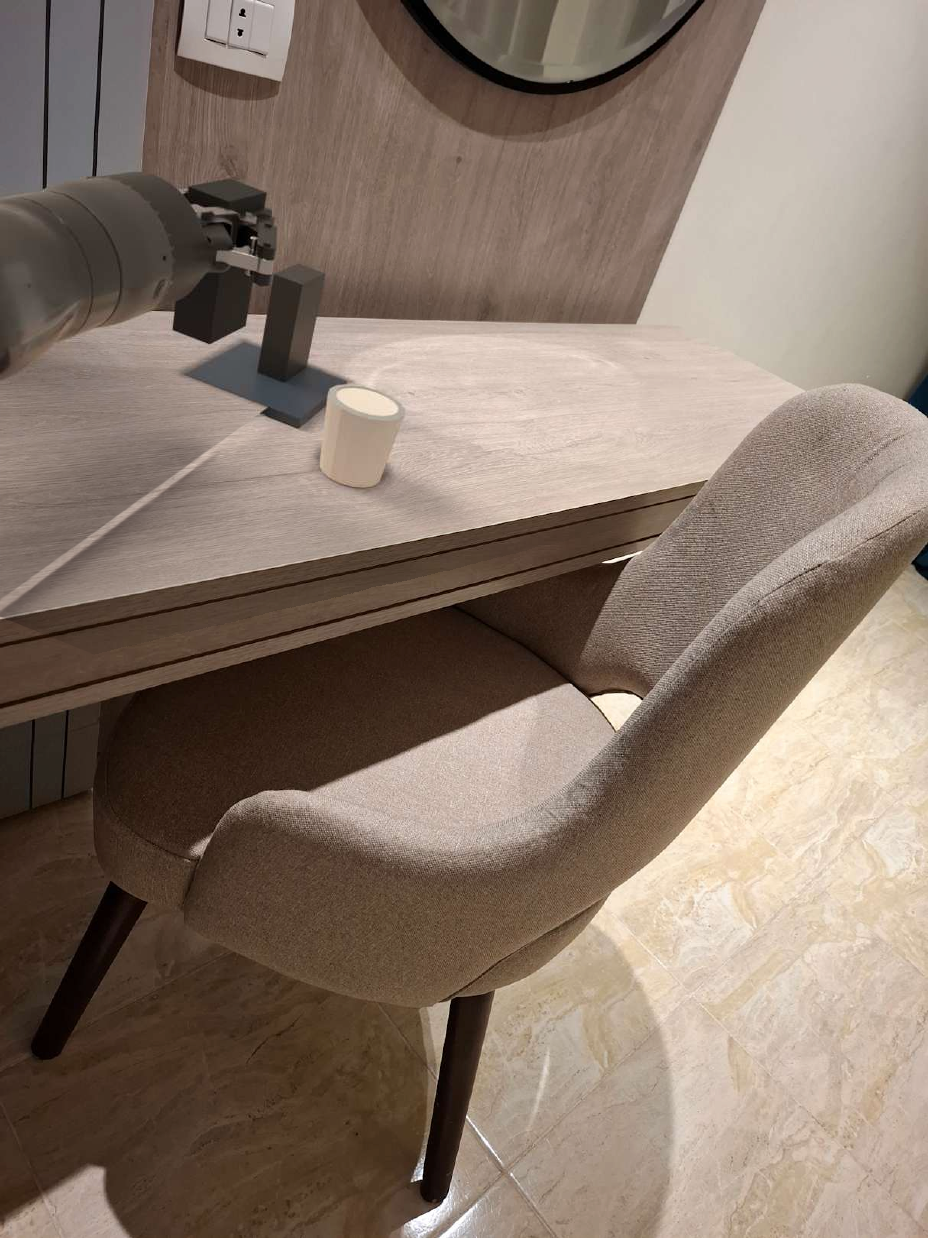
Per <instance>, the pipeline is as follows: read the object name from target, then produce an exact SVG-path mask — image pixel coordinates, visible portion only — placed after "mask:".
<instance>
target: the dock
mask: <svg viewBox="0 0 928 1238" xmlns="http://www.w3.org/2000/svg"><path fill="white" fill-rule="evenodd" d="M325 277H326V273H325V272H323V271H320V270H317V269H315V268H312V267H310V266H306V265H304V264H302V263H299V262H298V263H296V264H293V265H291V266H288V267H286V268H284V269H281V270H279V271H277V272H274V273H273V274H272V280H271V286H270V287H271V288H270V293H269V299H268V304H267V312H266V317H265V324H264V329H263V334H262V341H261V347H260V346H257V345H255V344H252V343H249V342H248V341H242V342H241V343H238V344H237V345H236V346H235V345H234V346H233V347H231V348H229V349H227V350H226V351H224V352H222V353H220V354H218V355H217V356H215V357H213V358H211V359H209V360H208V361H205V362H203V363H201V364H199V365H198V366H196V367H194V368H193V369H191V370H189V371H187V372H186V373H184V376H186V377H189V378H191V379H193V380H196V381H199V382H202V383H204V384H207V385H209V386H212V387H215V388H218V389H220V390H222V391H225V392H228V393H231V394H233V395H236V396H238V397H241V398H244V399H246V400H249V401H251V402H253V403H256V404H259V405H262V406H264V407H266V408H264V409H263V410H261V412H259V414H260V415H261V414H262V415H264V416H266V417H269V418H271V419H274V420H277V421H279V422H282V423H283V424H287V425H289V426H292V427H295V428H300V427H302V425H304V424H305V423H307V421H309V420H310V419H311V418H312V417H313V416H315V415H316V414H317V413H319V411H321V410H322V409H323V408H325V407H326V406H327V397H328V392H329V390H330V388H332V387H334V386H336V385H345V384H348V380H345V379H343V378H341V377H338V376H335V375H332V374H331V373H328V372H326V371H322V370H320V369H317V368H315V367H311V366H310V365H308V362H309V359H310V358H309V357H310V352H311V348H312V343H313V337H314V333H315V328H316V322H317V318H318V312H319V307H320V302H321V298H322V293H323V287H324V283H325Z"/></svg>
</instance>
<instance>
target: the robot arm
mask: <svg viewBox="0 0 928 1238" xmlns="http://www.w3.org/2000/svg"><path fill="white" fill-rule="evenodd" d="M275 221H276V217H274V216H273V210H272V209H271V208H268V207H266V206H265V207H263V206H262V207H258V208H254V209H250V210H247V211H243V212H235V211H233V210H230V209H228V208H226V207H224V206H216V207H202V206H199V205H197V204H190V203H189V201H188V188H177V187H175V186H174V185H173V184H172V183H171V182H169V181H168V180H166V179H164V178H162V177H160V176H158V175H156V174H153V173H150V172H145V171H127V172H121V173H114V174H108V175H102V176H101V175H100V176H96V175H92V176H86V177H85V178H83V179H81V178H80V179H75V180H69V181H63V182H58V183H56V184H53V185H50V186H46V187H45V188H43V189H40V190H38V191H32V192H26V193H20V194H13V195H6V196H2V197H0V382H2V381H5V380H8V379H10V378H12V377H14V376H16V375H18V374H20V373H21V372H23V371H24V370H26V369H28V368H29V367H30V366H32V364H33V363H35V362H36V361H37V360H38V359H39V358H41V356H43V355H44V354H46V352H48V351H49V350H50V349H51V348H52V347H53V346H54V345H55V344H56V343H60V342H63V341H66V340H69V339H72V338H75V337H76V336H78V335H81V334H84V333H87V332H89V331H91V330H94V329H100V328H105V327H112V326H116V325H119V324H122V323H125V322H127V321H131V320H133V319H135V318H138V317H139V316H143V315H145V314H148V313H150V312H153V311H155V310H157V309H160V308H163V307H166V306H168V305H170V304H173V303H175V301H178V300H180V299H182V298H183V297H185V296H186V295H188V294H189V293H190V292H191V291H192V290H193V289H194V288H195V286H196V285H197V284H198V283H199V281H200V280H201V279H202V278H203V276H204V275H205V274H206V273H221V272H225V271H227V270H228V269H229V268H230V266H231V265H232V266H236V267H240V268H244V269H246V270H245V274H246V275H248V276H252V279H251V281H252V282H253V284H255V285H257V286H259V287H271V283H272V278H273V271H274V264H275V258H276V253H277V244H278V243H277V241H278V239H277V237H278V227H277V226H276V225H275Z"/></svg>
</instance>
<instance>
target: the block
mask: <svg viewBox="0 0 928 1238" xmlns="http://www.w3.org/2000/svg"><path fill="white" fill-rule="evenodd" d="M187 189H188V201H189V203H190V204H197V205H199V206H202V207H216V206H224V207H226V208H228V209H230V210H233V211H235V212H243V211H247V210H250V209H254V208H258V207H262V206H263V207H266V201H267V194H268V192H266V191H264V190H262V189H259V188H256V187H254V186H251V185H248V184H245V183H243V182H240V181H238V180H235V179H232V178H224V179H219V180H213V181H208V182H203V183H198V184H193V185H188V186H187ZM245 270H246V269H244V268H240V267H236V266H232V265H231V266H230V268H229V269H228V270H227V271H225V272H221V273H206V274H205V275H204V276H203V278H202V279H201V280H200V281H199V283H198V284H197V285H196V286H195V288H194V289H193V290H192V291H191V292H190V293H189V294H188V295H186V296H185V297H183V298H182V299H180V300H178V301H175V302H174V312H173V320H172V329H171V330H172V331H174V332H175V333H178V334H181V335H184V336H186V337H188V338H191V339H194V340H196V341H199V342H202V343H203V344H204V343H205V344H207V345H212V344H214V343H215V342H218V341H219V340H222V339H224V338H226V337H228V336H229V335H231V334H233V333H236V332H237V331H239V330H241V329H243V328H245V327H246V326H247V321H248V315H249V310H250V309H249V308H250V301H251V296H252V289H253V284H254V283H253V282H252V281H251V279H252V276H248V275H246V274H245Z"/></svg>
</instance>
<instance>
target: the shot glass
mask: <svg viewBox="0 0 928 1238" xmlns="http://www.w3.org/2000/svg"><path fill="white" fill-rule="evenodd" d="M405 414H406V408H405V406H403V404H402V403H401V402H400V401H399V400H398V399H396V398H394V397H393V396H391V395H390V394H388V393H385V392H383V391H380V390H378V389H375V388H372V387H369V386H365V385H359V384H351V383H347V384H345V385H336V386H334V387H332V388H330V390H329V392H328V397H327V405H326V406H325V415H324V423H323V430H322V440H321V449H320V457H319V468H320V471H321V473H322V474H323V475H325V476H326V477H327V478H329V479H330V480H332V481H334V482H336V483H338V484H340V485H344V486H348V487H352V488H364V489H365V488H371V487H375V486H376V485H377V484H379V483H380V481H381V478H382V476H383V473H384V471H385V469H386V466H387V463H388V460H389V457H390V455H391V452H392V449H393V447H394V444H395V442H396V439H397V436H398V433H399V432H400V428H401V426H402V423H403V421H404V418H405Z"/></svg>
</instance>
